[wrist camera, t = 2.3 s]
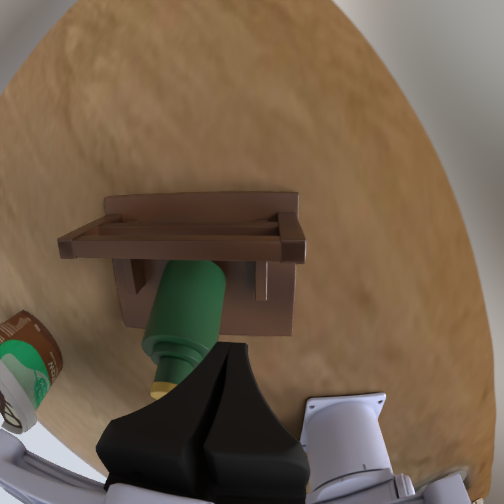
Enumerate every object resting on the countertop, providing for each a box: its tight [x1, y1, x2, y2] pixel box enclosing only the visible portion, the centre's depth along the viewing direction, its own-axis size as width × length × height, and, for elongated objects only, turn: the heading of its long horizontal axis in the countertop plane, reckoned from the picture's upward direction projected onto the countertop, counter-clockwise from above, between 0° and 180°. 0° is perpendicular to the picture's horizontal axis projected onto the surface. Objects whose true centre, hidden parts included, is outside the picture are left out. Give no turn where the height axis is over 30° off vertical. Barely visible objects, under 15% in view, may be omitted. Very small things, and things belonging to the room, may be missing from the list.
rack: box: [57, 191, 306, 336], centre depth 19 cm, size 11×14×7 cm
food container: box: [0, 310, 63, 434], centre depth 22 cm, size 12×6×10 cm, turn 169°
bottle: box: [142, 260, 226, 400], centre depth 17 cm, size 4×4×9 cm
